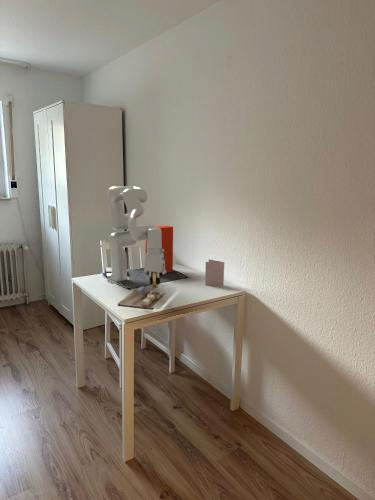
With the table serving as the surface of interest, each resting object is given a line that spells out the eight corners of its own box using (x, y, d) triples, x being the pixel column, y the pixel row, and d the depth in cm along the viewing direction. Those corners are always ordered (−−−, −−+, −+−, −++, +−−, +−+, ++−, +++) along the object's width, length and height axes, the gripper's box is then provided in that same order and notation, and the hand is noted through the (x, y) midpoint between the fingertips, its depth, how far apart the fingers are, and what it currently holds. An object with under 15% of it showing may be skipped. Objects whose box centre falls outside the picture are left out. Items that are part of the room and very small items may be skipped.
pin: (153, 286, 196) (153, 270, 194) (158, 287, 195) (158, 271, 193) (151, 288, 193) (151, 272, 192) (156, 288, 193) (156, 272, 191)
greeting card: (224, 285, 222) (225, 261, 219) (217, 288, 217) (218, 264, 213) (208, 281, 229) (209, 259, 226) (202, 284, 223) (202, 261, 220)
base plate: (117, 306, 186) (117, 303, 185) (134, 292, 206) (134, 290, 206) (152, 310, 181) (152, 307, 181) (165, 295, 202) (165, 293, 201)
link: (151, 293, 199) (151, 290, 199) (162, 294, 198) (162, 291, 197) (138, 305, 182) (138, 301, 182) (150, 306, 181) (150, 302, 180)
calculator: (128, 270, 239) (105, 271, 235) (128, 277, 240) (105, 277, 236) (126, 266, 250) (104, 266, 245) (126, 272, 250) (104, 272, 246)
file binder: (172, 271, 251) (173, 226, 244) (151, 275, 240) (151, 228, 233) (166, 269, 257) (166, 225, 250) (145, 272, 247) (145, 227, 240)
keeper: (137, 297, 195) (137, 289, 194) (142, 292, 202) (142, 285, 201) (140, 297, 194) (140, 290, 194) (145, 293, 201) (145, 286, 200)
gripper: (171, 250, 192) (171, 283, 195) (142, 248, 196) (143, 280, 200) (166, 253, 185) (167, 287, 188) (137, 251, 189) (138, 284, 192)
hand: (154, 283), depth 194 cm, fingers closed on pin, 2 cm apart
